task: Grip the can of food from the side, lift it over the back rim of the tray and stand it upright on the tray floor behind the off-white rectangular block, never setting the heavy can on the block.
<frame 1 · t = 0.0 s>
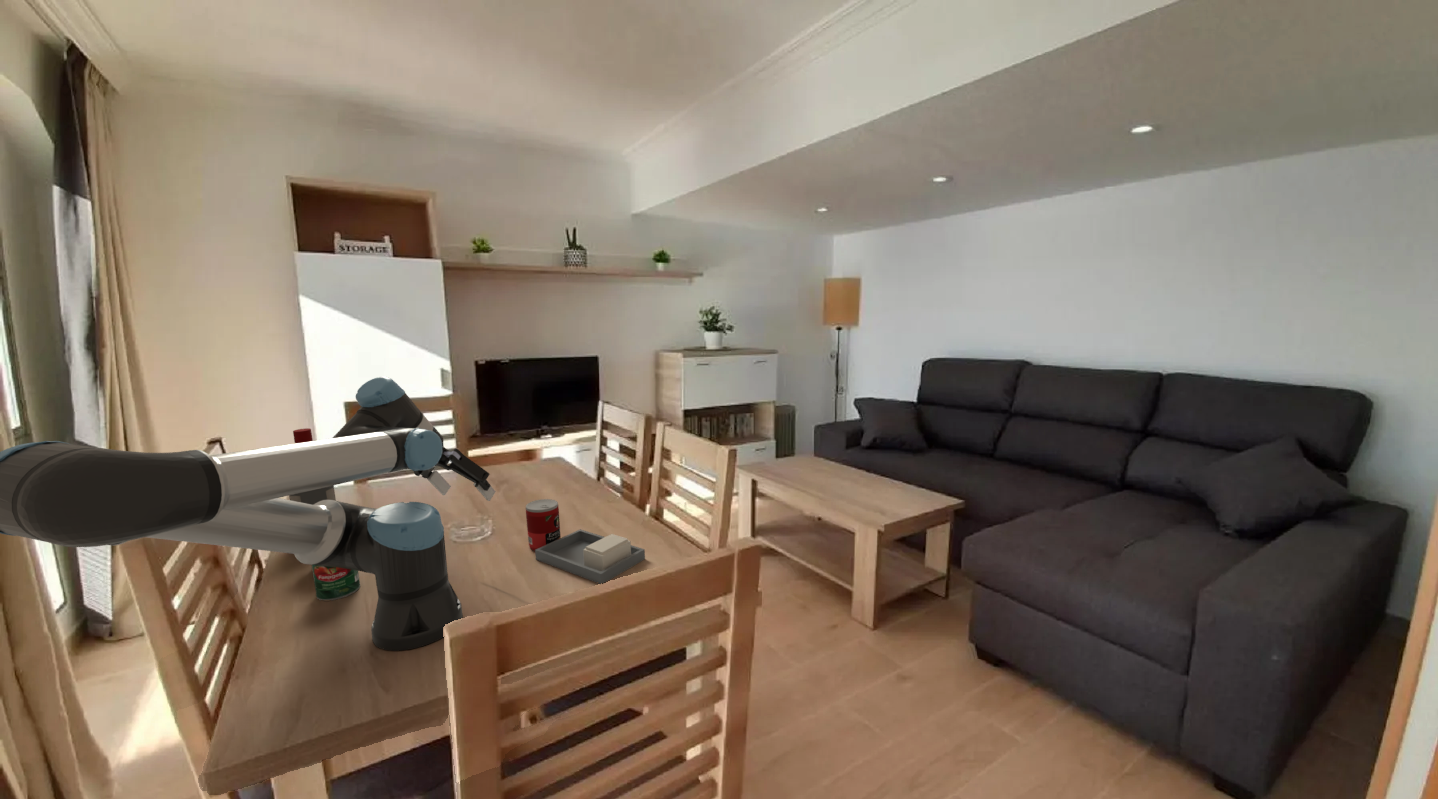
hand: (468, 493, 133), 15 cm above the table, tool tilted 35°, fingers open, 13 cm apart
canned tomato: (339, 592, 118), on the table
off-white rectangular block: (608, 565, 126), point 1 cm above the table, touching tray
ceramic cup: (331, 569, 128), on the table
canned food: (545, 546, 139), on the table
tray: (590, 561, 130), on the table
liquor: (319, 541, 144), on the table
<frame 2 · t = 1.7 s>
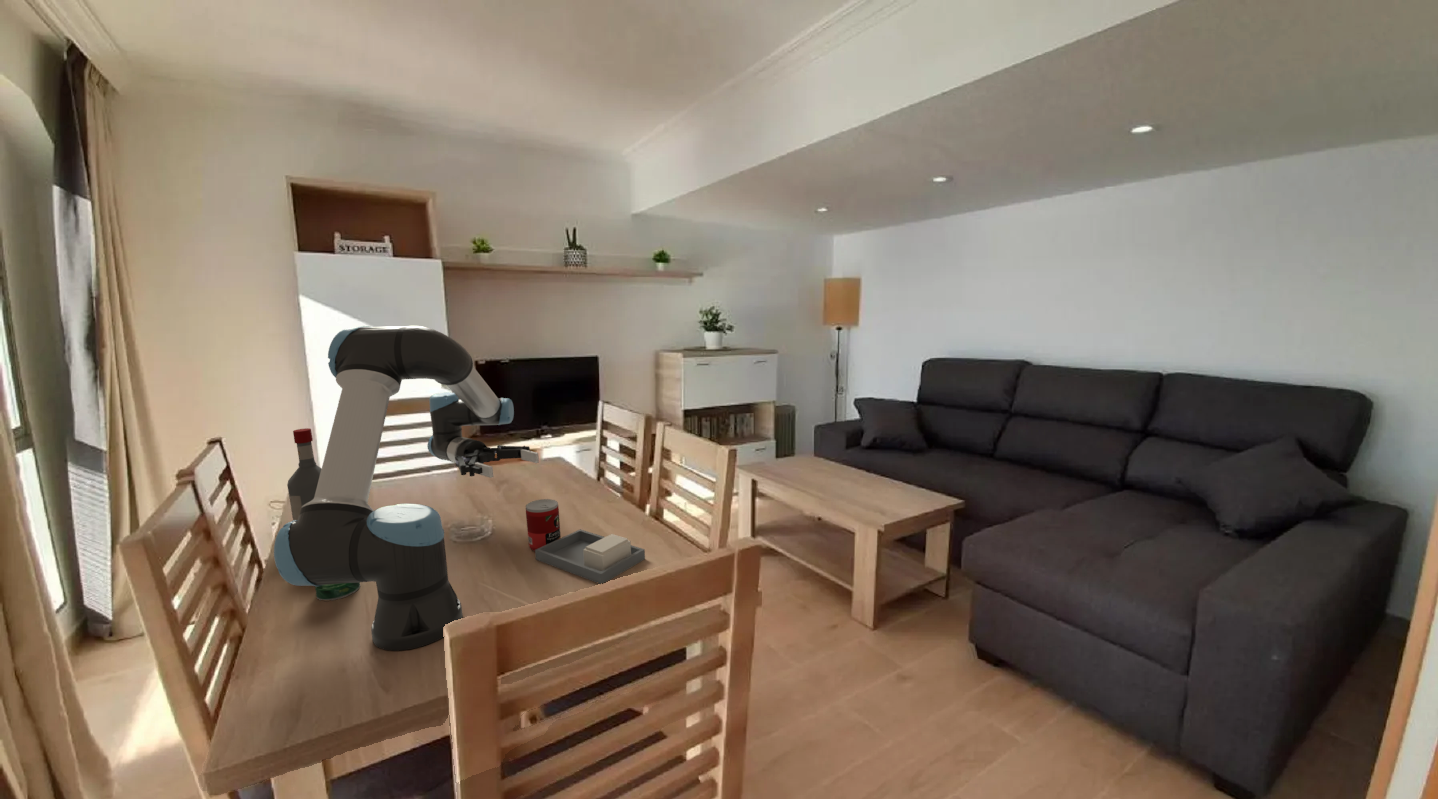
hand: (515, 464, 140), 20 cm above the table, tool horizontal, fingers open, 13 cm apart
nothing on the table moved.
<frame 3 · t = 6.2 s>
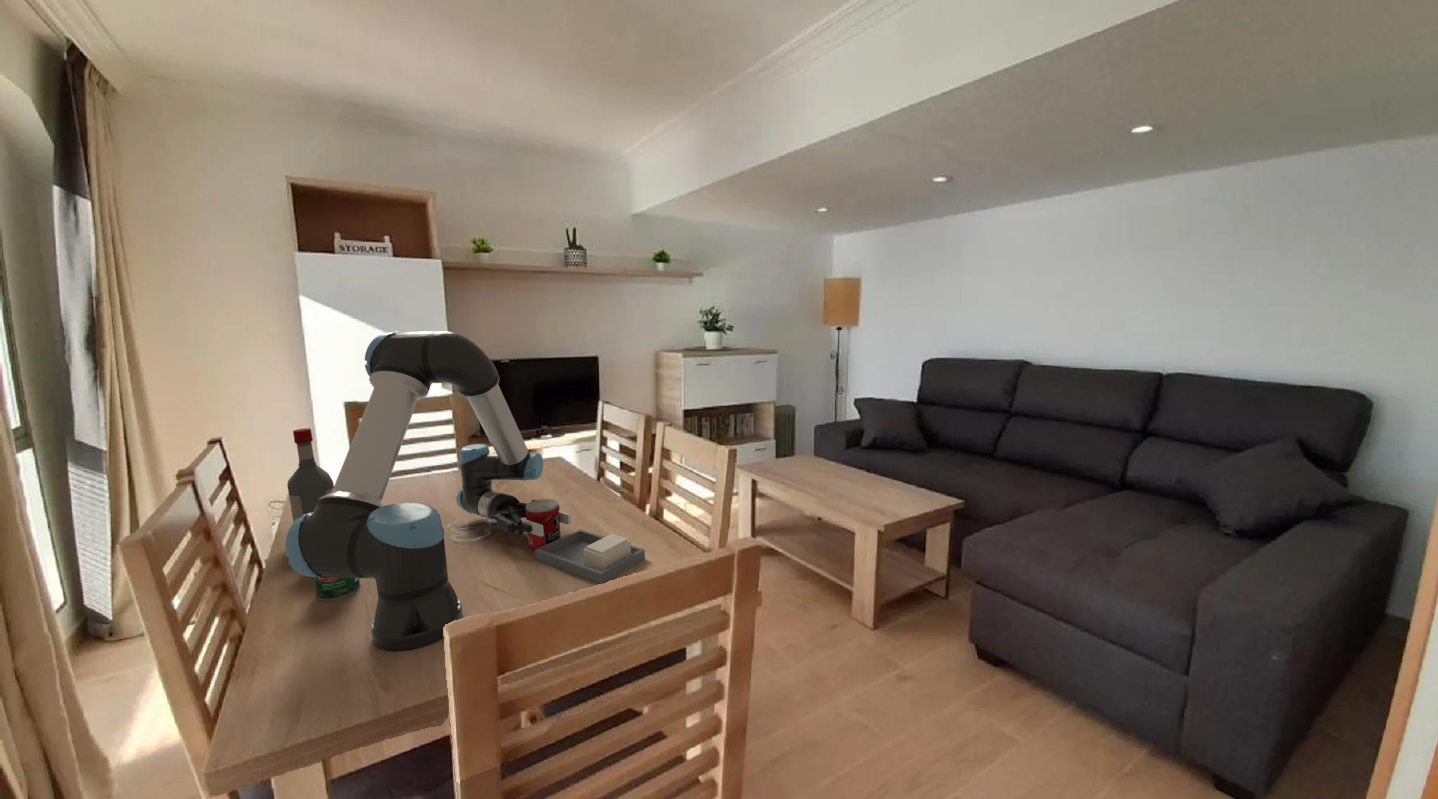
hand: (555, 525, 135), 7 cm above the table, tool horizontal, fingers closed on canned food, 8 cm apart
canned food: (545, 546, 139), on the table, touching gripper
everything else where it was.
when the fingers open (9 cm above the table, at t = 11.1 s): canned food drops 2 cm, resting on tray.
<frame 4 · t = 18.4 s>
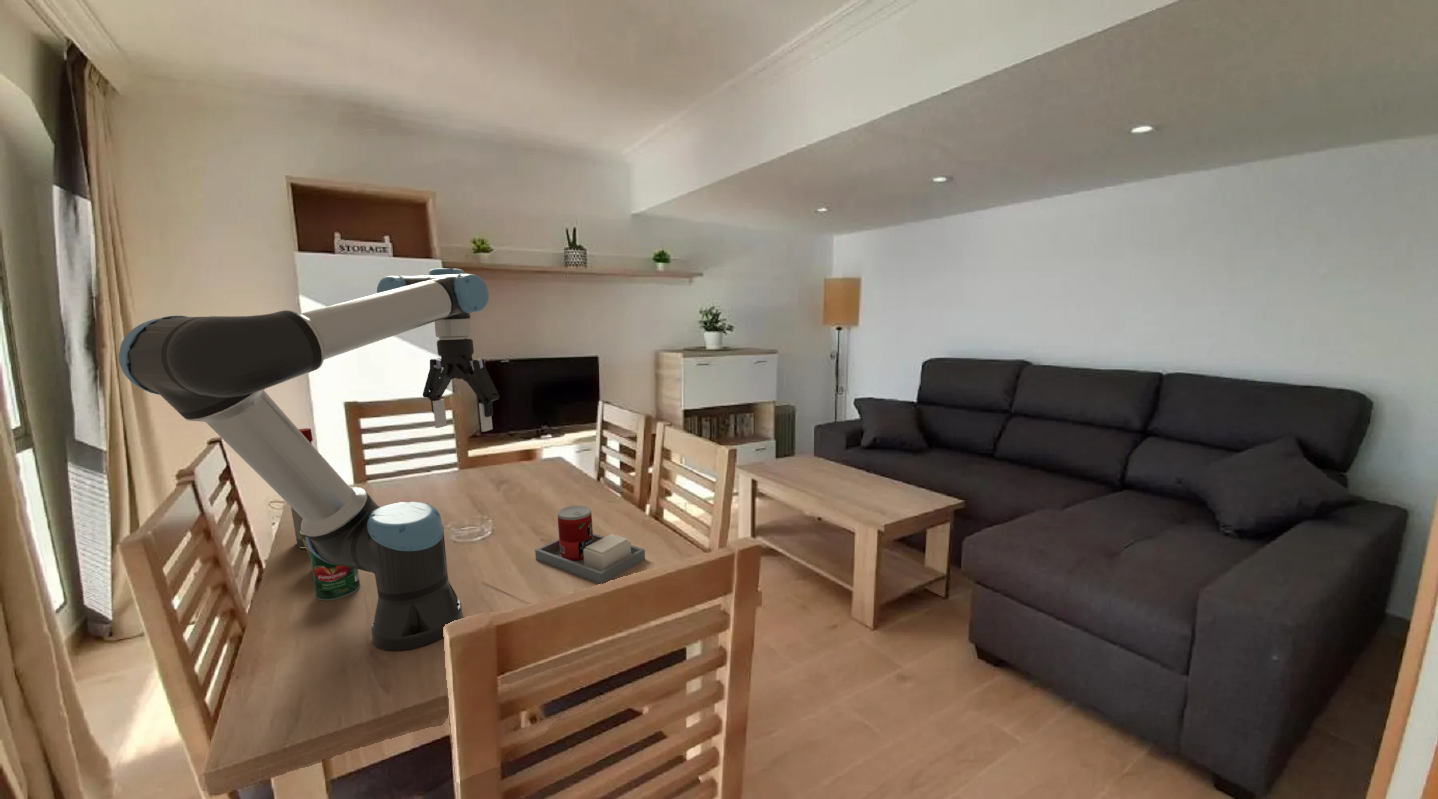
hand: (463, 428, 129), 32 cm above the table, tool pointing down, fingers open, 13 cm apart
canned food: (577, 555, 132), resting on tray
everything else where it was.
at the end: canned food inside the target area on the tray (0.3 cm from its centre), point 0.4 cm above the tray's base; canned food tilted 0°; off-white rectangular block moved 0.0 cm from its start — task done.
